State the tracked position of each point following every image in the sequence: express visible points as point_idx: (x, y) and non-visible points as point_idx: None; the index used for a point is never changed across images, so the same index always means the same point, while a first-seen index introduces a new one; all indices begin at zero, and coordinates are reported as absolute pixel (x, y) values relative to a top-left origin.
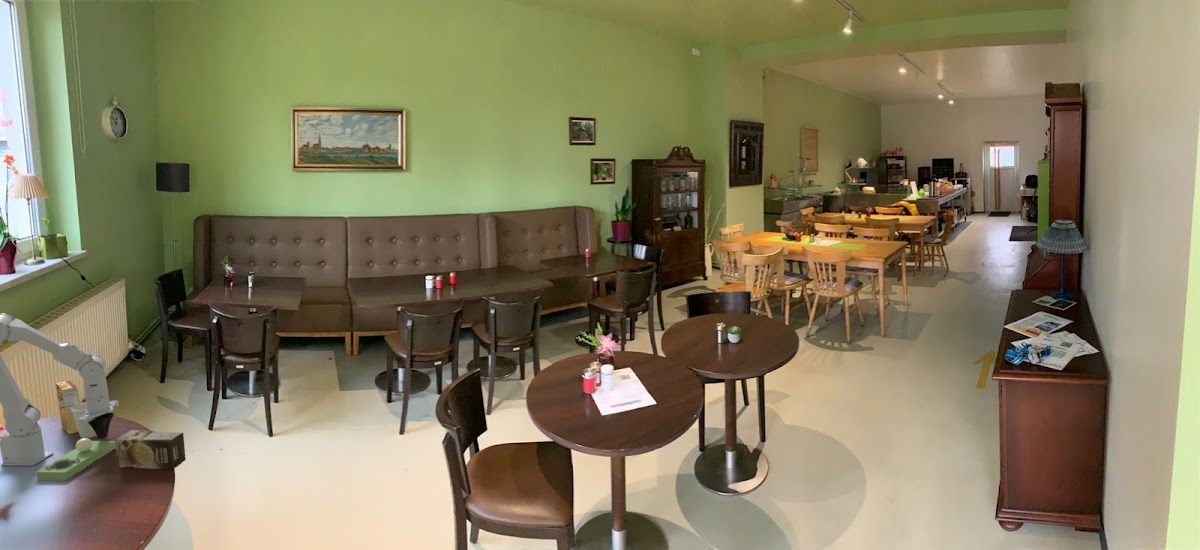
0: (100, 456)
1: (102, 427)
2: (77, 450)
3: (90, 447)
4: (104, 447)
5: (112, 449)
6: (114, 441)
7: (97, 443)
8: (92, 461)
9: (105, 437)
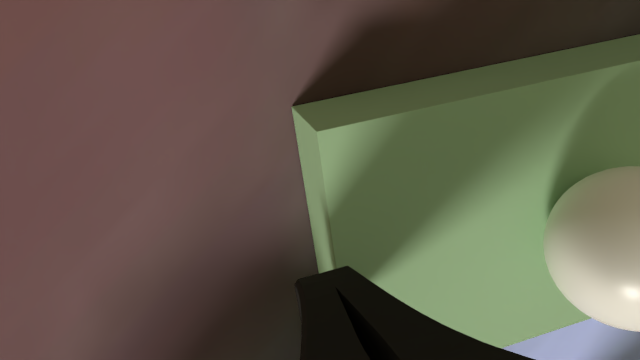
0: (517, 66)
1: (481, 345)
2: (557, 292)
3: (616, 168)
4: (489, 97)
5: (346, 100)
6: (323, 130)
7: (400, 267)
8: (619, 43)
9: (332, 272)
